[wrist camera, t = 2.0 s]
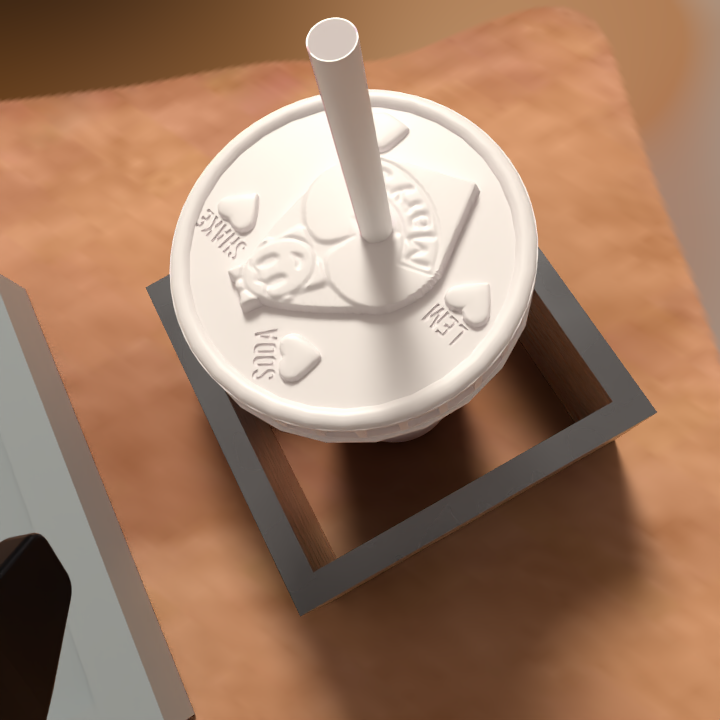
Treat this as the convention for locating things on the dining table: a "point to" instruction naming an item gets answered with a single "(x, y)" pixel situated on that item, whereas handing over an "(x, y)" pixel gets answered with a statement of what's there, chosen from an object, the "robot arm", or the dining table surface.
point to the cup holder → (339, 576)
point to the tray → (77, 539)
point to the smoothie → (355, 258)
